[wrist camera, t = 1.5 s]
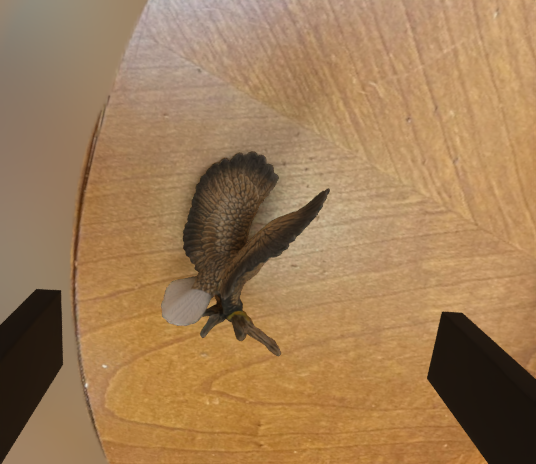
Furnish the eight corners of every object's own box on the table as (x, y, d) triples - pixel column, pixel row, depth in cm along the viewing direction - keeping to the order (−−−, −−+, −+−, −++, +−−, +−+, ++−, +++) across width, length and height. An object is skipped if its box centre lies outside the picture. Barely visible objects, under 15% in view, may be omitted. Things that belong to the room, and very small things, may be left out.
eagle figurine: (311, 322, 27) (357, 183, 23) (248, 392, 21) (295, 220, 17) (209, 268, 30) (234, 136, 26) (128, 316, 24) (145, 154, 20)
